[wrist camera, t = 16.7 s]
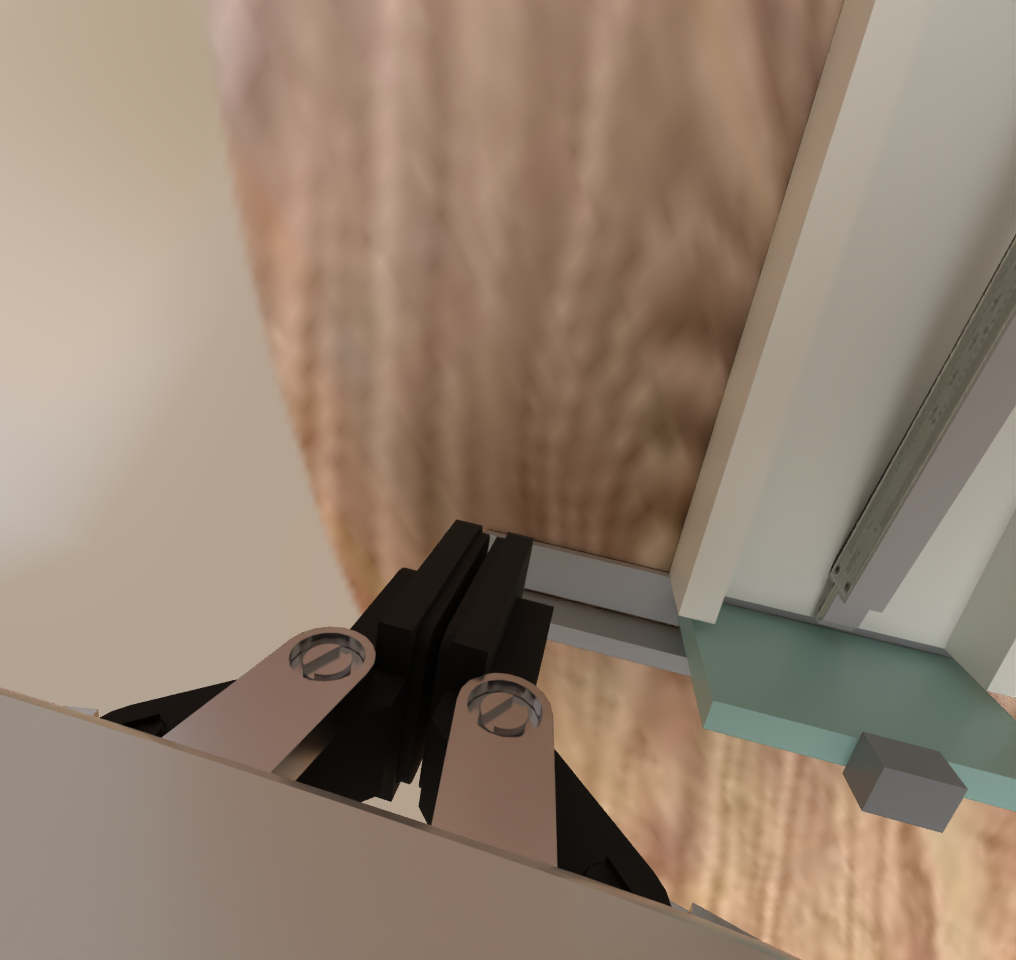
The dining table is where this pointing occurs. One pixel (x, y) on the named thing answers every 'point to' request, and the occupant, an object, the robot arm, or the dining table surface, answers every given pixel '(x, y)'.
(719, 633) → the gate
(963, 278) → the housing
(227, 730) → the robot arm
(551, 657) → the dining table surface
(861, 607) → the caliper
